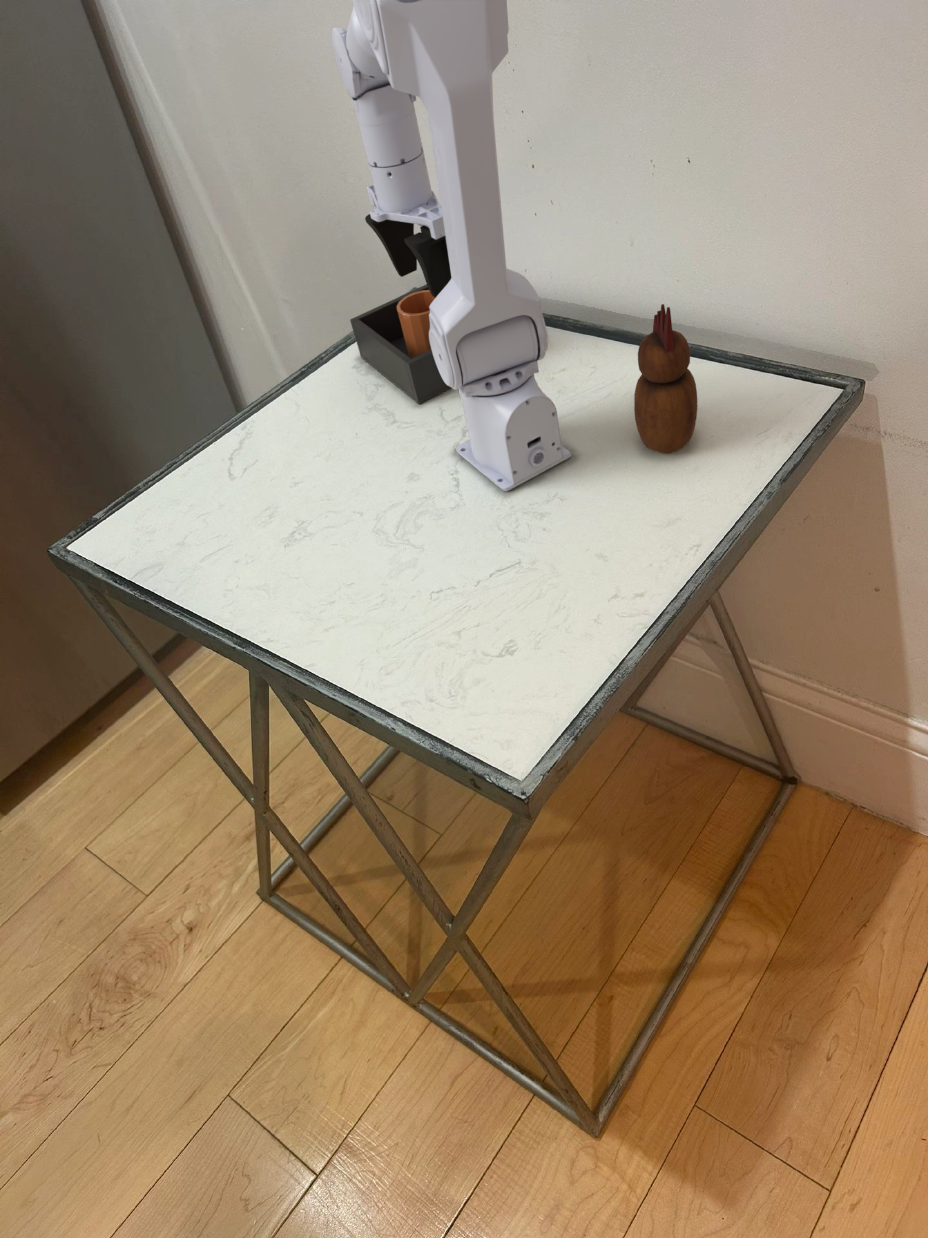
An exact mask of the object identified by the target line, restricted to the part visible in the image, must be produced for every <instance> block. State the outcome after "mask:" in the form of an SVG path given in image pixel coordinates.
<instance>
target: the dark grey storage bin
mask: <svg viewBox="0 0 928 1238" xmlns="http://www.w3.org/2000/svg"><path fill="white" fill-rule="evenodd" d="M423 290H429V289H428V286H427V283H426V284H424V285H422V286H419V287H418V288H416V289H413V290H411V291H409V292H407V293H404V294H403V295H400V296H397V297H396V298H394V299H391V300H389V301H387V302H385V303H383V304H381V305H379V306H376V307H373V308H372V309H370V310H368V311H366V312H363V313H361V314H359V315H357V316H355V317H352V318H350V319H349V321H350V324H351V328H352V331H353V335H354V338H355V342H356V345H357V348H358V352H359V356H360V358H361V360H363V361H364V362H366V363H367V364H368V365H369V366H370V367H372V368H373V369H374V370H376V371H377V372H378V373H379V374H381V376H383V377H384V378H386V380H388V381H389V382H390V383H391V384H393V385H394V386H395V387H397V388H398V389H399V390H400V391H401V392H403V393H404V394H405V395H407V396H408V397H409V398H410V399H411V400H413V401H414V402H415V403H416V404H418V405H421V404H423V403H425V402H427V401H429V400H431V399H433V398H436V397H437V396H439V395H442V394H443V393H446V392H447V391H449V390H451V389H452V388H451V387H450V386H448V385H446V384H445V382H444V381H443V379H442V377H441V375H440V373H439V370H438V368H437V365H436V362H435V360H434V356H433V353H432V350H429V351H427V352H425V353H423V354H421V355H418V356H416V357H414V358H412V359H411V358H410V357H409V354H408V350H407V346H406V342H405V338H404V334H403V330H402V327H401V323H400V319H399V315H398V311H397V305H398V303H399V301H401V300H402V299H403V298H404V297H406V296H408V295H410V294H412V293H415V292H419V291H423Z"/></svg>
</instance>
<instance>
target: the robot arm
mask: <svg viewBox="0 0 928 1238" xmlns="http://www.w3.org/2000/svg"><path fill="white" fill-rule="evenodd" d="M351 1H352V4H353V6H352V11H351V15H350V19H349V22H348V25H347V26H344V27H341V26H336V27H333V28H332V30H331V42H332V49H333V50H332V51H333V57H334V60H335V64H336V67H337V71H338V74H339V78H340V80H341V82H342V85H343V87H344V89H345V91H346V93H347V94H348V96H349V97H350V99H352V104H353V108H354V111H355V116H356V120H357V124H358V128H359V131H360V136H361V139H362V143H363V144H362V145H363V147H364V151H365V152H364V153H365V155H366V159H367V163H368V164H367V165H368V168H369V172H370V176H371V179H372V184H370V185H368V186H366V191H367V196H368V199H369V203H370V206H373V207H375V208H374V209H371V210H370V211H369V214H367V215H366V216H365V217H364V220H365V223H366V224H367V225H368V226H369V227H370V228H371V229H372V231H373V232H374V233H375V234H376V236H377V238H378V239H379V240H380V242H381V243H382V245H383V247H384V249H385V251H386V253H387V255H388V257H389V259H390V262H391V263H392V265H393V268H394V269H395V271H396V273H397V275H398V276H400V277H401V278H403V277H405V276H408V275H409V274H412V273H414V272H416V271H418V264H419V266H420V270H421V271H422V274H423V278H424V280H425V283H426V284H427V286H428V289H429V291H430V293H431V294H432V296H433V297H435V299H434V301H433V302H432V303H431V304H430V306H429V308H430V314H429V320H430V330H429V340H430V345H431V350H432V353H433V356H434V360H435V362H436V365H437V368H438V370H439V373H440V375H441V377H442V379H443V381H444V382H445V384H446V385H448V386H450V387H451V389H452V390H455V391H456V390H458V393H459V397H460V402H461V407H462V411H463V416H464V421H465V425H466V428H467V429H466V430H467V435H468V439H469V440H467V441H465V442H463V443H461V444H459V445H458V446H456V447H455V448H456V449H455V450H456V453H457V454H459V455H460V456H461V458H463V459H464V460H466V461H467V462H468V463H469V464H470V465H471V466H472V467H474V468H475V469H477V471H479V472H480V473H481V474H482V475H483V476H484V477H486V478H487V479H488V480H490V481H491V482H492V483H493V484H494V485H496V486H497V488H499V489H500V490H502V491H504V492H509V491H510V490H512V489H515V488H516V487H518V486H520V485H522V484H524V483H525V482H527V481H529V480H532V479H533V478H534V477H536V476H538V475H541V474H542V473H544V472H546V471H547V470H550V469H551V468H554V467H555V466H557V465H559V464H561V463H563V462H564V461H566V460H568V459H570V458H571V455H572V454H571V451H570V450H569V449H568V448H566V447H564V446H563V444H562V439H561V431H560V423H559V416H558V410H557V407H556V404H555V403H554V402H553V400H552V399H551V398H550V397H549V396H548V395H547V394H545V392H543V390H542V389H541V388H540V386H539V384H538V382H537V380H536V377H535V374H537V373H539V370H540V369H539V363H538V361H541V360H543V359H544V358H545V356H546V354H547V350H548V347H549V336H548V330H547V326H546V322H545V318H544V316H543V309H542V301H541V299H540V296H539V295H538V292H537V291H536V289H535V288H534V286H533V285H532V284H531V282H530V281H529V280H528V279H527V277H526V276H524V275H523V274H521V273H519V272H518V271H515V270H512V269H509V268H507V259H506V250H505V249H506V248H505V235H504V225H503V224H504V223H503V212H502V211H503V210H502V201H501V188H500V177H499V164H498V152H497V141H496V132H495V131H496V130H495V129H496V128H495V117H494V115H495V114H494V94H493V93H494V91H493V73H494V72H495V70H496V69H497V68H498V66H499V65H500V64H501V62H502V61H503V60H504V59H505V58H506V56H507V55H508V53H509V40H508V35H509V15H508V14H509V13H508V0H351ZM417 97H418V98H419V99H420V100H421V102H422V104H423V105H424V107H425V109H426V111H427V118H428V124H429V131H430V136H431V137H430V138H431V145H432V152H433V158H434V166H435V172H436V180H437V187H438V193H439V200H440V202H439V200H438V198H437V195H436V193H435V192H434V191H433V189H432V185H431V181H430V177H429V176H430V175H429V170H428V167H427V161H426V157H425V151H424V147H423V142H422V137H421V132H420V128H419V127H420V126H419V122H418V117H417V114H416V113H417V112H416V108H415V104H414V103H415V102H416V101H417ZM415 225H418V226H419V229H420V231H419V232H416V233H415V232H414V231H415Z"/></svg>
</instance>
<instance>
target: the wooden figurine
mask: <svg viewBox="0 0 928 1238" xmlns="http://www.w3.org/2000/svg"><path fill="white" fill-rule="evenodd" d="M671 312H672V311H671V307H670V306H668V307H665V304H664V303H663V304H660V310H657V312H656V314H654V315H653V324H652V332H650V333H648V334H647V335H646V336H645V337H644V338H643V339H642V341H640V344H639V346H638V350H637V366H638V370H639V372H640V374H641V375H640V376H639V378H638V379H637V382H636V385H635V389H634V395H633V398H634V399H633V401H634V402H633V404H634V405H633V412H634V422H635V426H636V430H637V432H638V435H639V437H640V439H641V441H642V443H643V445H644V446H645V447H646V448H647V449H648V450H650V451H652V452H654V453H655V452H656V453H660V454H672V453H676V452H678V451H679V450H681V449H682V448H684V447H686V446H687V445H688V443H689V442H690V441H691V440H692V437H693V435H694V431H695V427H696V423H697V417H698V392H697V384H696V381H695V377H694V375H693V374H692V371H691V370H690V369H688V368H689V366H690V363H691V349H690V347H689V343H688V339H687V338H686V337H685V336H684V335H683V334H682V333H681V332H679V331H677V330H673V324H672V314H671Z"/></svg>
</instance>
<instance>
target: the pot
mask: <svg viewBox="0 0 928 1238" xmlns="http://www.w3.org/2000/svg"><path fill="white" fill-rule="evenodd" d="M434 299H435V297H433V296H432V294H431V293H430V291H429V290H423V291H419V292H415V293H412V294H410V295H408V296H406V297H404V298H403V299H402V300H401V301H399V303H398V305H397V311H398V315H399V319H400V323H401V327H402V330H403V334H404V338H405V342H406V346H407V350H408V354H409V357H410V358H411V359H412V358H414V357H416V356H418V355H421V354H423V353H425V352H427V351H429V350H431V345H430V340H429V330H430V320H429V314H430V308H429V306H430V304H431V303H432V302H433V301H434Z"/></svg>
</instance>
